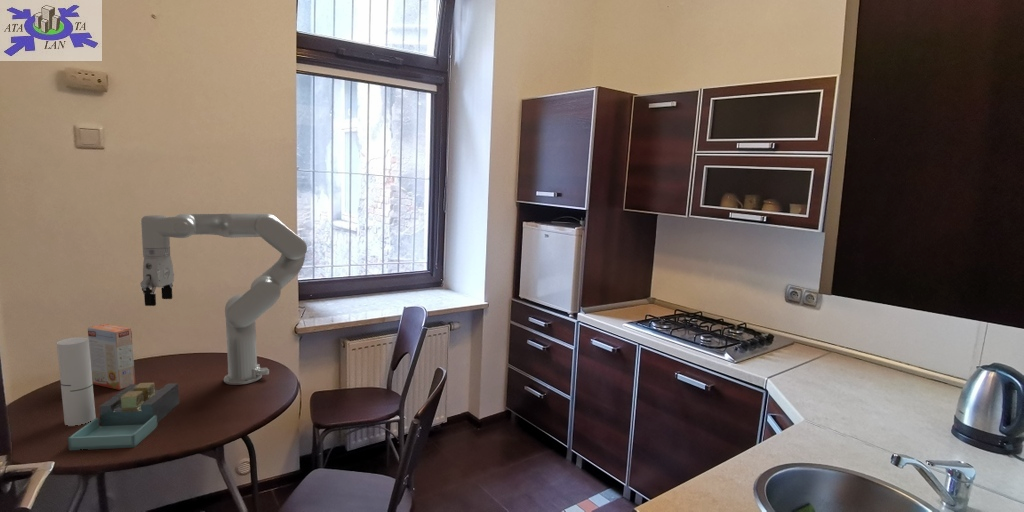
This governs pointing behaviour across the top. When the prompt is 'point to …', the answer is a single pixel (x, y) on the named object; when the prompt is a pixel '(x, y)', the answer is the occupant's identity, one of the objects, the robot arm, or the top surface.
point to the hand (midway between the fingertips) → (159, 302)
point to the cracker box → (111, 356)
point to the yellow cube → (132, 400)
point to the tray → (110, 435)
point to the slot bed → (153, 406)
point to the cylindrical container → (76, 380)
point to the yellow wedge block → (146, 389)
